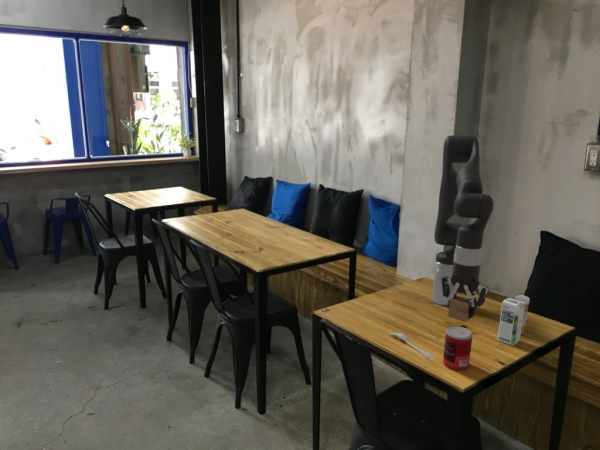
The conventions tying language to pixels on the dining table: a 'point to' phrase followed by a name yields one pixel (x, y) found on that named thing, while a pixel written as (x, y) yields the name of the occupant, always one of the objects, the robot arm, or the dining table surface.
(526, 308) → the sprinkles bottle
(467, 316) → the walnut cube
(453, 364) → the canned food
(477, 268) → the robot arm
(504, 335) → the syrup box
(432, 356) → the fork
